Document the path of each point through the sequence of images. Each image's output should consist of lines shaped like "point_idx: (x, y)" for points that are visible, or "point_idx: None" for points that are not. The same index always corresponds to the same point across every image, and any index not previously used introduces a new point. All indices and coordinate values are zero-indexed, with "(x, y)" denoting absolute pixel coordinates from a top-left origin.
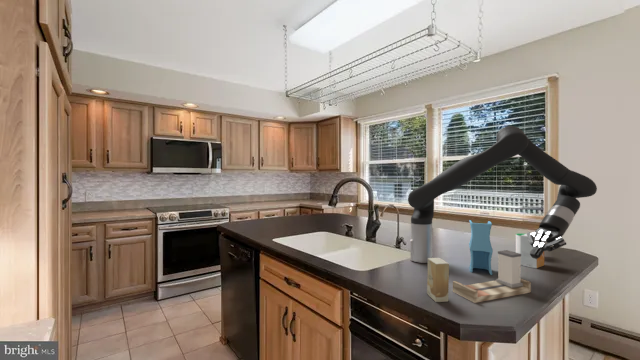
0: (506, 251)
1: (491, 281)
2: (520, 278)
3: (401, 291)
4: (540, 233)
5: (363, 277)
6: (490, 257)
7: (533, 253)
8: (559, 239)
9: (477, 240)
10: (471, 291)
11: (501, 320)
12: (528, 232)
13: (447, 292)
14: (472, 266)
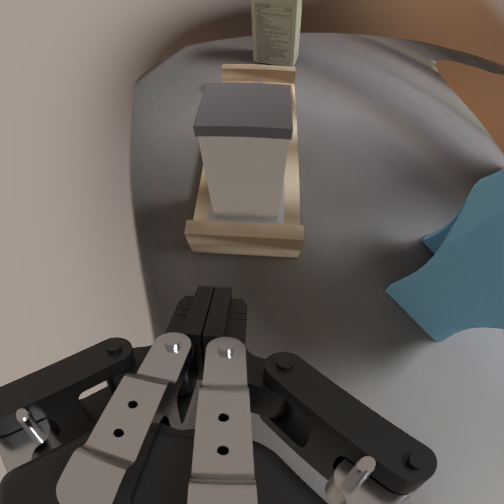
0: (270, 108)
1: (295, 178)
2: (212, 206)
3: (323, 44)
4: (210, 480)
5: (397, 47)
6: (431, 260)
7: (209, 291)
8: (1, 405)
9: (500, 178)
10: (231, 66)
11: (152, 82)
12: (427, 475)
13: (253, 44)
14: (435, 233)
